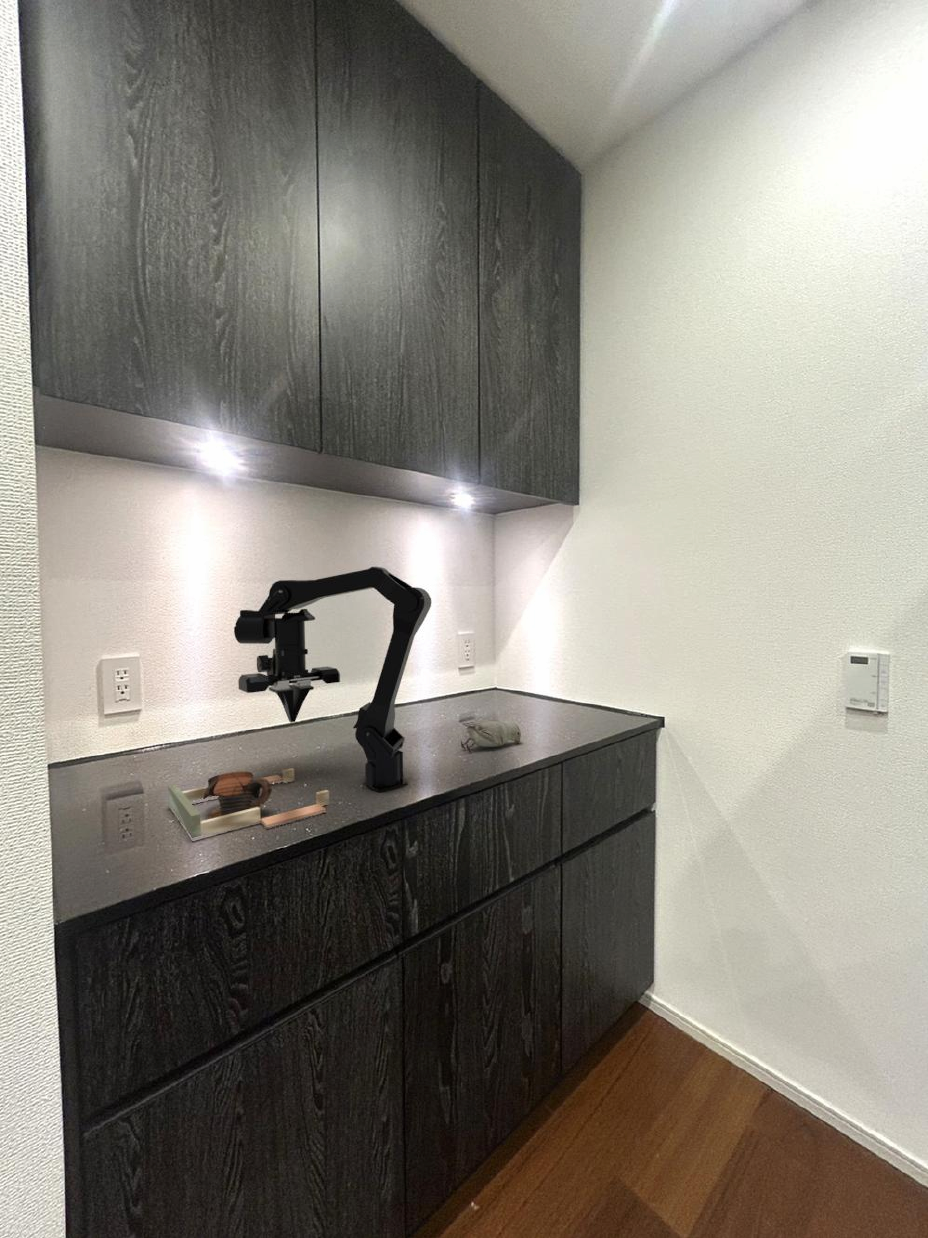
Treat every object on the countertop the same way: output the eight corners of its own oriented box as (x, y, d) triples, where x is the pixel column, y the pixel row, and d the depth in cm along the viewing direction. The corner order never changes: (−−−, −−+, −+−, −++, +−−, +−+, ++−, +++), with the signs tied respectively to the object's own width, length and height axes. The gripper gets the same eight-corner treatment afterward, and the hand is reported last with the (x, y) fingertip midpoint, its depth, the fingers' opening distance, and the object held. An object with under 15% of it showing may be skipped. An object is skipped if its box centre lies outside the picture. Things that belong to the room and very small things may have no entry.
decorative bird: (525, 746, 133) (525, 716, 132) (468, 756, 125) (467, 724, 125) (513, 741, 138) (513, 712, 137) (457, 750, 130) (456, 719, 130)
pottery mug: (191, 830, 88) (190, 779, 91) (223, 832, 96) (221, 786, 100) (262, 811, 87) (259, 760, 91) (288, 815, 96) (284, 769, 100)
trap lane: (286, 776, 112) (286, 757, 112) (336, 810, 94) (336, 787, 94) (165, 803, 98) (165, 781, 98) (197, 849, 80) (196, 822, 80)
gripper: (317, 638, 120) (319, 708, 121) (228, 644, 108) (231, 721, 109) (340, 641, 111) (342, 717, 112) (246, 648, 100) (249, 732, 100)
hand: (292, 721), depth 109 cm, fingers closed
